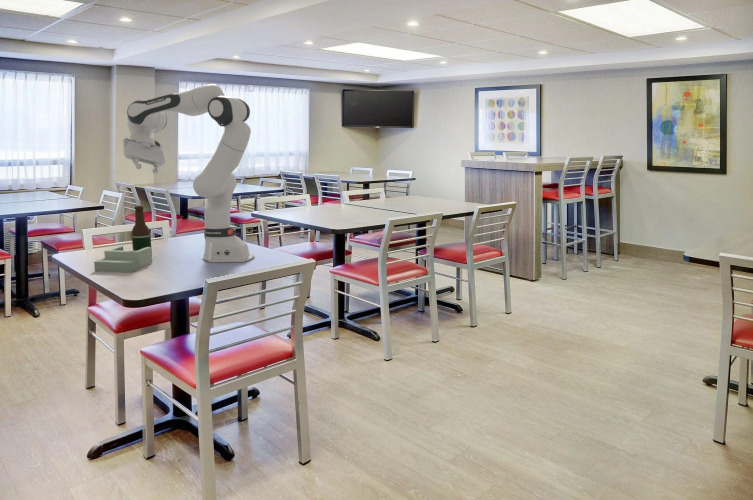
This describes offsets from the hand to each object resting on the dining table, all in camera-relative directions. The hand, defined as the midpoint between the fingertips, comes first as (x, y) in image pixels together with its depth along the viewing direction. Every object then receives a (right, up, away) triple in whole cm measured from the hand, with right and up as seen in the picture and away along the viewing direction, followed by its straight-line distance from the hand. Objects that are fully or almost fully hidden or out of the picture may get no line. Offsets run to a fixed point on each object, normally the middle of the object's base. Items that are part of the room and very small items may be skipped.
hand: (147, 170), depth 268 cm
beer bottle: (-2, -40, +1) cm, 40 cm away
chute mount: (-4, -43, -13) cm, 45 cm away
